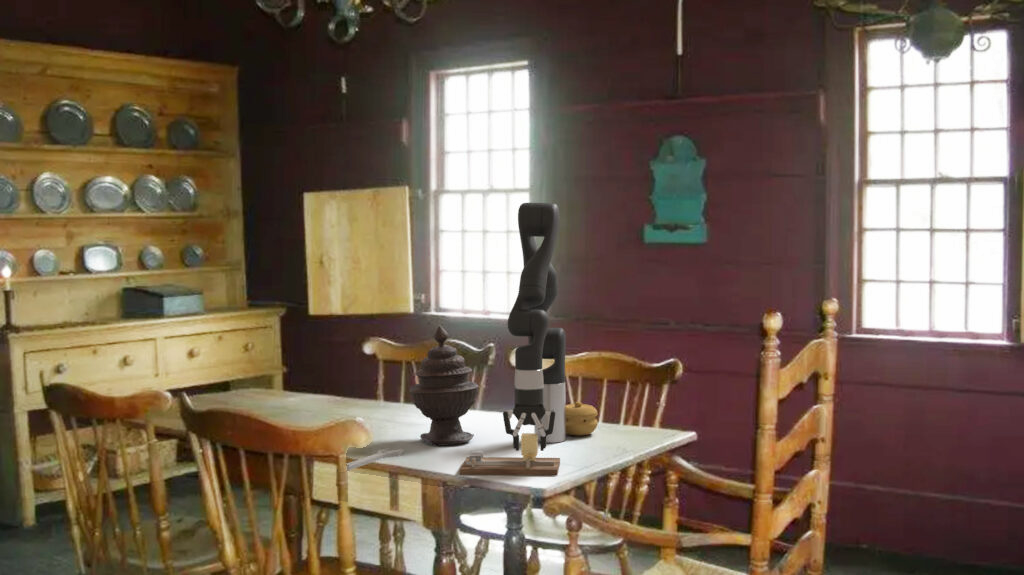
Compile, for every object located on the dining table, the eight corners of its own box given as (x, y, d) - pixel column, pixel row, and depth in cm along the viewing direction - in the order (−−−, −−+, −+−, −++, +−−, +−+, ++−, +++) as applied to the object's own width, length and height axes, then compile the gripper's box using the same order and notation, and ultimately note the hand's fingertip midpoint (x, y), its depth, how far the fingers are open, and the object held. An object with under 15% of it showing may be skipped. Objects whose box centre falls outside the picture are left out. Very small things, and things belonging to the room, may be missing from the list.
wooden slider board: (467, 462, 297) (466, 447, 296) (560, 463, 294) (559, 448, 294) (459, 474, 283) (459, 459, 283) (557, 475, 280) (557, 459, 280)
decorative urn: (496, 436, 329) (485, 319, 325) (455, 453, 312) (443, 330, 309) (443, 432, 340) (431, 320, 337) (400, 448, 324) (388, 330, 320)
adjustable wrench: (346, 473, 288) (346, 466, 288) (328, 470, 292) (328, 463, 292) (406, 454, 309) (406, 448, 309) (388, 452, 313) (388, 446, 313)
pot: (595, 438, 327) (595, 405, 326) (556, 437, 329) (555, 404, 329) (600, 431, 338) (599, 399, 338) (562, 430, 341) (561, 398, 340)
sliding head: (523, 458, 292) (522, 432, 291) (538, 459, 291) (538, 432, 291) (521, 464, 285) (520, 437, 285) (536, 464, 285) (536, 437, 284)
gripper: (557, 384, 290) (558, 447, 291) (502, 383, 291) (503, 447, 292) (555, 388, 282) (556, 453, 283) (499, 388, 284) (500, 453, 285)
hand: (529, 449), depth 288 cm, fingers open, 6 cm apart
